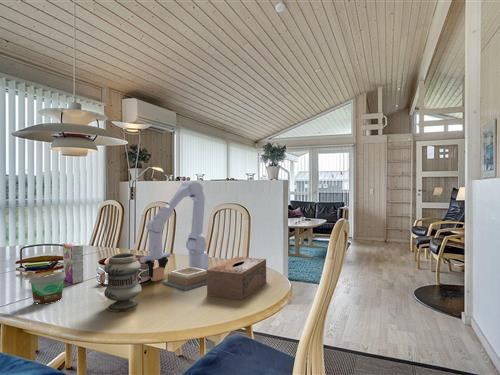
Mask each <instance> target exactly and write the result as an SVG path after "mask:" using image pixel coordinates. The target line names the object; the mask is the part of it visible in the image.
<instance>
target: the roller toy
mask: <svg viewBox="0 0 500 375" xmlns="http://www.w3.org/2000/svg"><path fill="white" fill-rule="evenodd" d="M104 282H105V272H103V271H102V272H101V273H100V274H99V283H100V284H101V283H103V284H102V285H105V284H104Z"/></svg>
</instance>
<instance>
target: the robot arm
mask: <svg viewBox="0 0 500 375" xmlns="http://www.w3.org/2000/svg"><path fill="white" fill-rule="evenodd" d="M203 189H204V186H203V185H202V184H201V183H200V182H199V181H195V180H194V181H184V182H183V183H182V184H181V185H180V186H178V189H177V191H176V192H175V194H173V196H172V198H171V199H170V201H169V202H168V204H167V205H163V206H161V207H159V210H158V212H157V213H156V214H155V215H154V216H153V217H152V219H150V220H148V222H147V225H146V230H147V231H148V255H146V256H143V257H140V259H139V262H140V264H141V263H142V264H143V263H145V264H148V266H149V276H150V278H152V277H153V267H155V263H154V262H153V261H157V262H158V266H159V267H163V268H164V270H165V268H166V266H167V264H168V262H169V258H171V256H172V255H171V253H170V252H163V231H164V230H165V227H166V226H165V225H166V223H167V222H168V221H169V220H170V219H171V217H172V216H173V215H174V209H175V208H176V207H177V206H179V203H180V202H181V201H183V199H184V198H187V197H189V198H190V199H191V200H192V201H193V204H192V206H193V207H192V218H191V221H192V222H191V232H190V233H189V235H188V236H187V240H186V242H185V246H186V249H187V251H188V267H195V268H199V269H204V270H208V269H210V268H211V267H210V265H209V264H210V263H209V262H210V260H209V254H208V252H207V251H206V249H207V243H206V236H205V235H204V234H203V231H204V230H203V229H204V228H203V227H204V216H205V214H204V213H205V201H206V196H205V194H204V190H203Z"/></svg>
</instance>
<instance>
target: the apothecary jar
mask: <svg viewBox="0 0 500 375" xmlns="http://www.w3.org/2000/svg"><path fill="white" fill-rule="evenodd" d="M141 267H142V266H141V262H140V260H138V259H137V257H136V254H135V253H132V252H121V253H116V254H112V255H110V256H109V259H108V262H107V263H106V264H105V265H104V270H103V271H105V272H106V273H108V284H107V286H106V288H105V289H104V292H103V293H104V296H105V298H106V299H108V300H111V301H114V302H112V303H111V304H109V305H108V306H107V310H108V311H110V312H114V313H119V312H128V311H132V310H133V309H136V308H137V307H138V306H139V303H138V301H135V300H133V299H135V298H136V297H138V296H139V295H140V293H141V292H142V285H141V284H140V283H139V282H138V271H139V270H140V269H141Z"/></svg>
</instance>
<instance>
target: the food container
mask: <svg viewBox="0 0 500 375" xmlns="http://www.w3.org/2000/svg"><path fill="white" fill-rule="evenodd" d="M65 277H66V275H65V272H64V269H61V271H59V272H57V273H50V274H45V275H42V276H30V278H29V281H28V283H29V284H30V286H31V292H32V301H33V304H34V303H38V304H37V305H39V304H40V305H46V304H45V303H49V304H52V303H51V302H54V303H56V301H57V302H59V301H61V300H62V299H63V292H64V281H65V280H64V278H65ZM61 298H62V299H61ZM60 299H61V300H60ZM58 300H59V301H58Z"/></svg>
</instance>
